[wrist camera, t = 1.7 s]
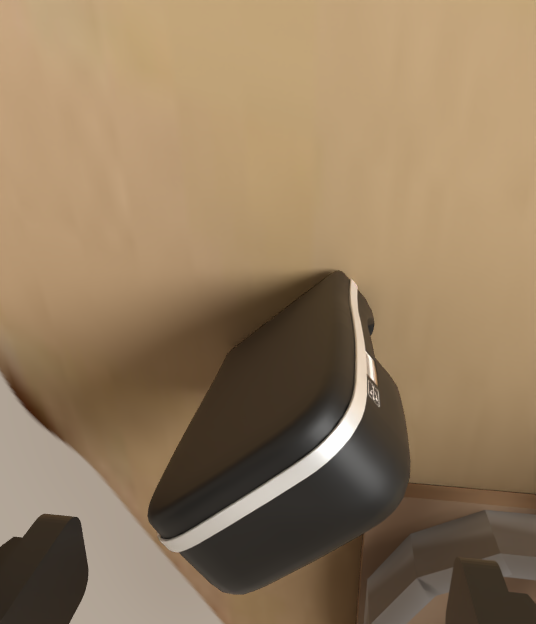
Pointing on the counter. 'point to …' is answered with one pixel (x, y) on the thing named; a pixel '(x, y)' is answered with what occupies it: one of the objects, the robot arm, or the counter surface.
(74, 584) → the robot arm
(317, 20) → the counter surface
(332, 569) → the counter surface
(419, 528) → the ring collar
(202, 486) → the battery charger
